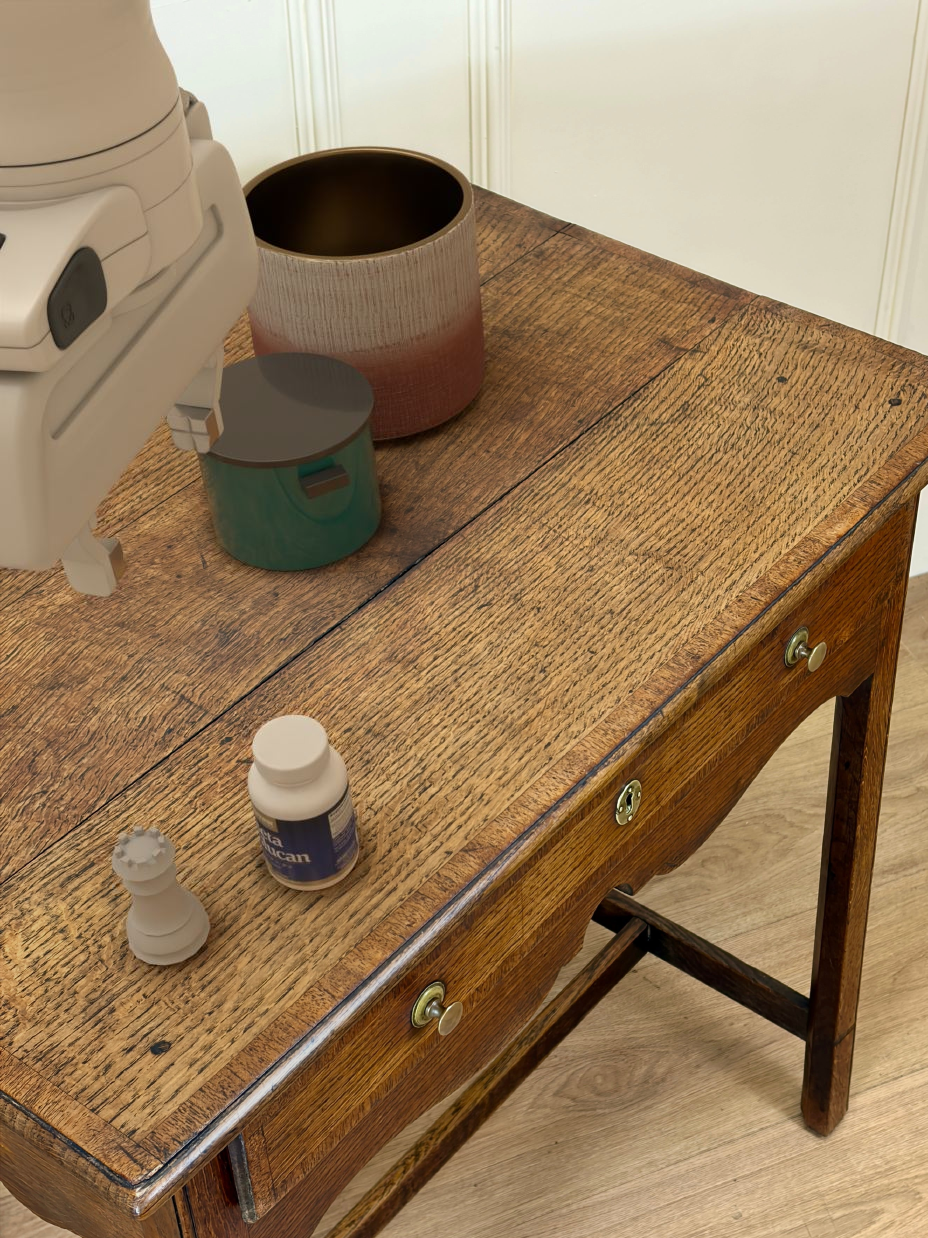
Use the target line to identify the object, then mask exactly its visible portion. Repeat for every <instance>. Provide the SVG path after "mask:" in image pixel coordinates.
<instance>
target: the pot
mask: <svg viewBox="0 0 928 1238" xmlns="http://www.w3.org/2000/svg"><path fill="white" fill-rule="evenodd" d="M218 402H219V407H220V412H221V416H222V421H223V426H224V430H223V433H222V434H221V436H220V437H219V438H218V440H217V441H216V443H215V444H214V445H213V447H212V448H211V449H210V451H209V452H207V453H206V454H204V453H197V452H196V454H197V455H196V456H197V460H198V464H199V468H200V469H199V470H200V473H201V479H202V482H203V487H204V490H205V496H206V499H207V503H208V508H209V512H210V517H211V521H212V525H213V530H214V534H215V537H216V539H217V541H218V543H219V546H221V547H222V549H223V550H224V551H225V552H226V553H227V554H229V555H230V556H231V557H233V558H234V559H236V560H237V561H239V562H241V563H243V564H245V565H248V566H251V567H255V568H258V569H263V570H267V571H268V570H269V571H275V572H276V571H277V572H294V571H295V572H296V571H305V570H313V569H316V568H320V567H324V566H327V565H330V564H333V563H335V562H338V561H340V560H343V559H345V558H346V557H349V556H350V555H352V554H353V553H355V552H356V551H358V550H359V549H361V548H362V547H363V546H364V545H366V543H367V542H369V540H371V538H372V537H373V535H374V534H375V532H376V531H377V529H378V527H379V525H380V522H381V520H382V514H383V513H382V512H383V509H382V500H381V491H380V483H379V475H378V468H377V459H376V451H375V442H373V434H372V426H371V418H372V416H373V412H374V395H373V391H372V388H371V386H370V383H369V382H368V380H367V379H366V378H365V376H364V375H363V374H362V373H360V372H359V371H358V370H357V369H355V368H354V367H352V366H351V365H349V364H347V363H345V362H343V361H340V360H338V359H335V358H332V357H328V356H324V355H318V354H312V353H301V352H286V353H274V354H266V355H261V356H256V357H255V356H252V357H249V358H245V359H242V360H239V361H236V362H234V363H231V364H229V365H227V366H223V372H222V381H221V390H220V399H219V400H218Z"/></svg>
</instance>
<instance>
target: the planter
mask: <svg viewBox="0 0 928 1238" xmlns="http://www.w3.org/2000/svg"><path fill="white" fill-rule="evenodd" d="M242 190H243V193H244V197H245V200H246V204H247V208H248V212H249V215H250V219H251V224H252V228H253V232H254V236H255V240H256V245H257V249H258V254H259V261H260V271H259V281H258V289H257V294H256V296H255V298H254V299H253V301H252V302H251V303H250V305H249V306H248V307H247V309H246V310H247V316H248V323H249V328H250V335H251V340H252V347H253V353H254V357H256V356H261V355H266V354H274V353H286V352H301V353H312V354H318V355H324V356H328V357H332V358H335V359H338V360H340V361H343V362H345V363H347V364H349V365H351V366H352V367H354V368H355V369H357V370H358V371H359V372H360V373H362V374H363V375H364V376H365V378H366V379H367V380H368V382H369V383H370V386H371V388H372V391H373V395H374V412H373V416H372V418H371V426H372V434H373V442H374V443H378V442H379V443H380V442H385V441H386V442H387V441H393V440H398V439H404V438H409V437H411V436H415V435H418V434H420V433H423V432H427V431H429V430H431V429H434V428H436V427H439V426H440V425H442V424H444V423H445V422H448V421H449V420H450V419H452V418H454V417H455V416H457V415H458V414H459V413H460V412H462V411H463V410H464V409H466V408H467V407H468V405H469V404H471V403H472V402H473V400H474V399H475V398H476V397H477V395H478V393H479V392H480V390H481V387H482V385H483V382H484V378H485V371H486V350H485V348H486V347H485V334H484V320H483V319H484V318H483V306H482V294H481V281H480V280H481V279H480V269H479V268H480V267H479V254H478V252H479V251H478V237H477V223H476V222H477V221H476V207H475V205H476V203H475V195H474V189H473V187H472V184H471V182H470V181H469V179H468V178H467V176H465V174H464V173H463V172H462V171H460V170H459V169H458V168H457V167H455V166H454V165H453V164H450V163H449V162H447V161H445V160H443V159H441V158H439V157H436V156H433V155H430V154H428V153H424V152H420V151H417V150H412V149H406V148H399V147H392V146H379V145H375V146H374V145H363V146H362V145H360V146H359V145H358V146H345V147H336V148H328V149H323V150H317V151H313V152H308V153H306V154H305V153H304V154H301V155H299V156H295V157H291V158H289V159H286V160H284V161H281V162H279V163H277V164H275V165H272V166H270V167H268V168H267V169H265V170H263V171H261V172H259V174H257V175H255V176H254V177H253V178H251V179H250V180H249V181H248V182H246V183H245V185H244V186H242Z"/></svg>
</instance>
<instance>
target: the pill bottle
mask: <svg viewBox="0 0 928 1238" xmlns="http://www.w3.org/2000/svg"><path fill="white" fill-rule="evenodd" d="M328 737H329V736H328V733H327V731H326V729H325V728H324V726H323V725H322V724H321V723H320V722H319V721H318V720H316V719H314V718H312V717H311V716H307V715H302V714H286V715H280V716H278V717H276V718H273V719H271V720H269V721H267V722H266V723H264V724H263V725H262V726H261V727H260V728H259V729H258V730H257V731H256V733H255V735H254V737H253V740H252V745H251V749H252V751H251V752H252V755H253V762H252V764H251V766H250V768H249V771H248V774H247V790H248V795H249V799H250V803H251V808H252V811H253V814H254V815H253V816H254V819H255V823H256V824H255V825H256V828H257V832H258V836H259V840H260V845H261V849H262V854H263V857H264V862H265V864H266V867H267V870H268V871H269V873H270V875H271V876H272V877H273V878H274V879H275V880H276V881H277V882H278V883H280V884H281V885H283V886H286V887H288V888H290V889H293V890H298V891H306V892H307V891H309V892H310V891H318V890H323V889H326V888H329V887H332V886H334V885H336V884H337V883H339V882H341V881H342V880H343V879H344V878H346V877H347V876H348V875H349V874H350V872H351V871H352V870H353V869H354V867H355V865H356V863H357V860H358V858H359V854H360V853H359V852H360V841H359V834H358V828H357V821H356V817H355V815H356V814H355V811H354V804H353V803H354V802H353V797H352V792H351V786H350V779H349V774H348V770H347V766H346V762H345V760H344V758H343V757H342V756H341V754H340V753H339V752H338V750H336V749H335V748H334V747H333V746H332V745H330V743H329V742H330V741H329V738H328Z"/></svg>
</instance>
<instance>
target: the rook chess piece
mask: <svg viewBox="0 0 928 1238" xmlns="http://www.w3.org/2000/svg"><path fill="white" fill-rule="evenodd" d="M132 830H133V833H131V834H130V835H128V834H127V833H126V832H124V831H123V832H122V833H121V834H120V835H119V836H118V837H117V841H118V845H114V851H113V853H112V856H111V859H110V860H111V868H112V870H113V871H114V872H115V874H116V875H117V876H118V877H119V878H122V885H123V886H124V888H125V889H126V890H127V892H129V893H130V895H131V901H132V902H131V905H130V909H129V910H128V914H127V916H126V919H125V931H126V938H127V939H128V947H129V949H130V950H131V952H132V953H133V954H134V956H135V957H136V958H137V959H139V960H141V961H142V962H145V963H147V964H149V965H159V966H171V965H176V964H179V963H182V962H184V961H186V960H188V959H189V958H190V957H192V956H194V955H195V954H196V953H197V952H198V951H199V950H200V948H201V947H202V946H203V945H204V944H205V943H206V941H207V939H208V936H209V934H210V930H211V924H210V918H209V917H210V915H208V913H207V911H206V910H205V909H206V908H205V905H204V904H203V903H202V902H201V900H200V899H199V898H198V897H197V895H196V894H195V893H193V892H191V891H189V890H188V889H187V888H185V887H183V886H182V885H181V884H180V882H179V880H178V878H177V877H176V876H177V874H178V869H177V864H176V863H175V861H174V859H175V856H176V846H175V843H174V842H173V841H172V839H171V837H169V836H167V835H166V834H163V833H161V832H160V829H159V828H157V827H155V826H153V825H150V827H149V829H148V830H145V829H144V826H143V825H142V824H141V825H137V826H132Z"/></svg>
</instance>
